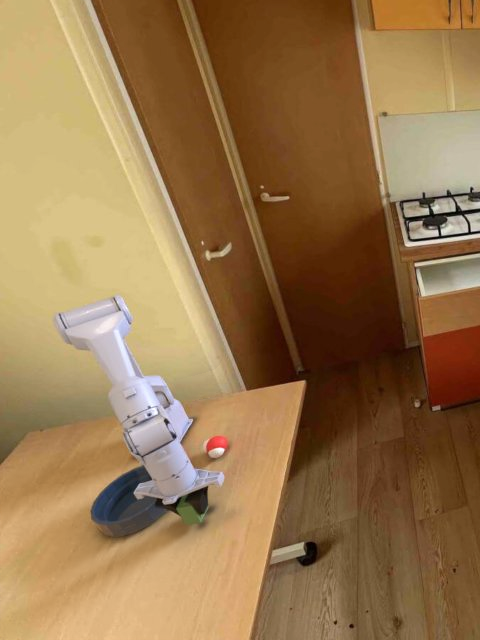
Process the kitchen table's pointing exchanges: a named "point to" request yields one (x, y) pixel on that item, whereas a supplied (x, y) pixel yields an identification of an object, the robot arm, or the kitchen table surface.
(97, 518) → the bowl
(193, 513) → the green block
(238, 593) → the kitchen table surface
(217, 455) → the molecule
